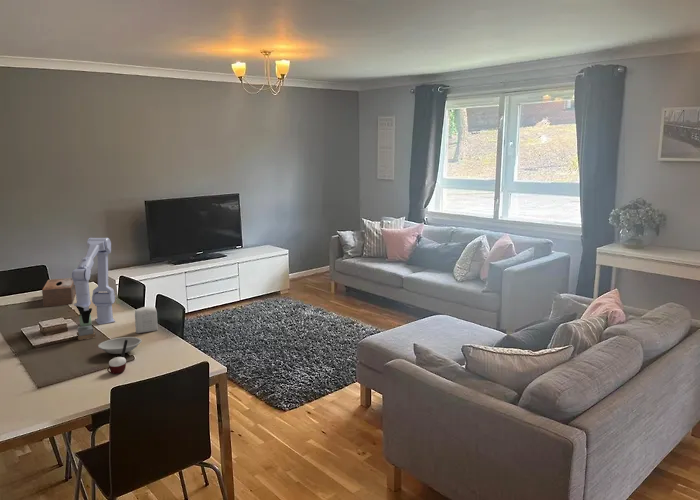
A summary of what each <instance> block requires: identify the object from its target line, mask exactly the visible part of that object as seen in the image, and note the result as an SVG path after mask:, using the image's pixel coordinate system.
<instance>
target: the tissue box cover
mask: <svg viewBox="0 0 700 500" xmlns="http://www.w3.org/2000/svg"><path fill="white" fill-rule="evenodd" d="M41 294H42V301H43V302H42V303H43V308H44V307H45V308H46V307H57V306H66V305H67V306H68V305H74V300H75V299H76V289H75V285H74V282H73V279H72V277H67V278H53V279H48V280H47V281H46V283H45V284H44V285H43V287H42V290H41Z"/></svg>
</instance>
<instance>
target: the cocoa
mask: <svg viewBox="0 0 700 500" xmlns="http://www.w3.org/2000/svg"><path fill="white" fill-rule="evenodd" d="M127 342H128V340H125V342H124V346H123V351H122V354H120V355H121V356H117V357H116V356H115V357H113V358H112V359H110V360H109V361H108V367H107V368H106V369H107V370H106V371H107V372H108V373H110V374H114V375H118V374H122V373H123V372H124V371H125V370H126V366H127V359H126V358H125V351H126V346H127Z"/></svg>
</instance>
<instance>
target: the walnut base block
mask: <svg viewBox="0 0 700 500" xmlns="http://www.w3.org/2000/svg"><path fill="white" fill-rule="evenodd" d="M93 332H94V334H89V335H83V336H79V333H78V331H76V336H77V335H78V337H77V340H78V341H79V340H81V341H84V340H83V339H86V340H88V339H87V338H92V339H94V338H93V337H96V333H95V331H94V330H93Z"/></svg>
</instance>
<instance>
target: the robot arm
mask: <svg viewBox="0 0 700 500" xmlns="http://www.w3.org/2000/svg"><path fill="white" fill-rule="evenodd" d="M86 247H87V250H86V254H85V256H84V257H82V258H80V262H79V263H78V265H77V267H76V268H75V269H73V270H72V273H71V278H72V279H73V282H74V285H75V289H76V295H75V299H76V303H73V306H74V307H76V309H77V310H78V312H79V316H80V315H81V316H82V320H83V323H84V324H85V323H89V318H90V315H91V313H92V312H93V311H92V310H93V308H92V307H91V308H90V305H91V304H93V305H94V306H95V307H96V318H95V321H96V323H97V325H104V324H111V323H114V322H116V320H115V319H114V317H113V304H114V303H115V301H116V294H115V290H114V289H113V287H110V285H109V255H110V254H111V253H112V241H111V239H110V238H109V237H88V239H87V241H86ZM96 256H97V287H95V288H94V289H93V290H92V295H91V294H90V284H89V283H90V282H89V280H90V279H91V273H92V272H91V270H92V268H93V266H94V264H95V262H94V258H95V257H96Z"/></svg>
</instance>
